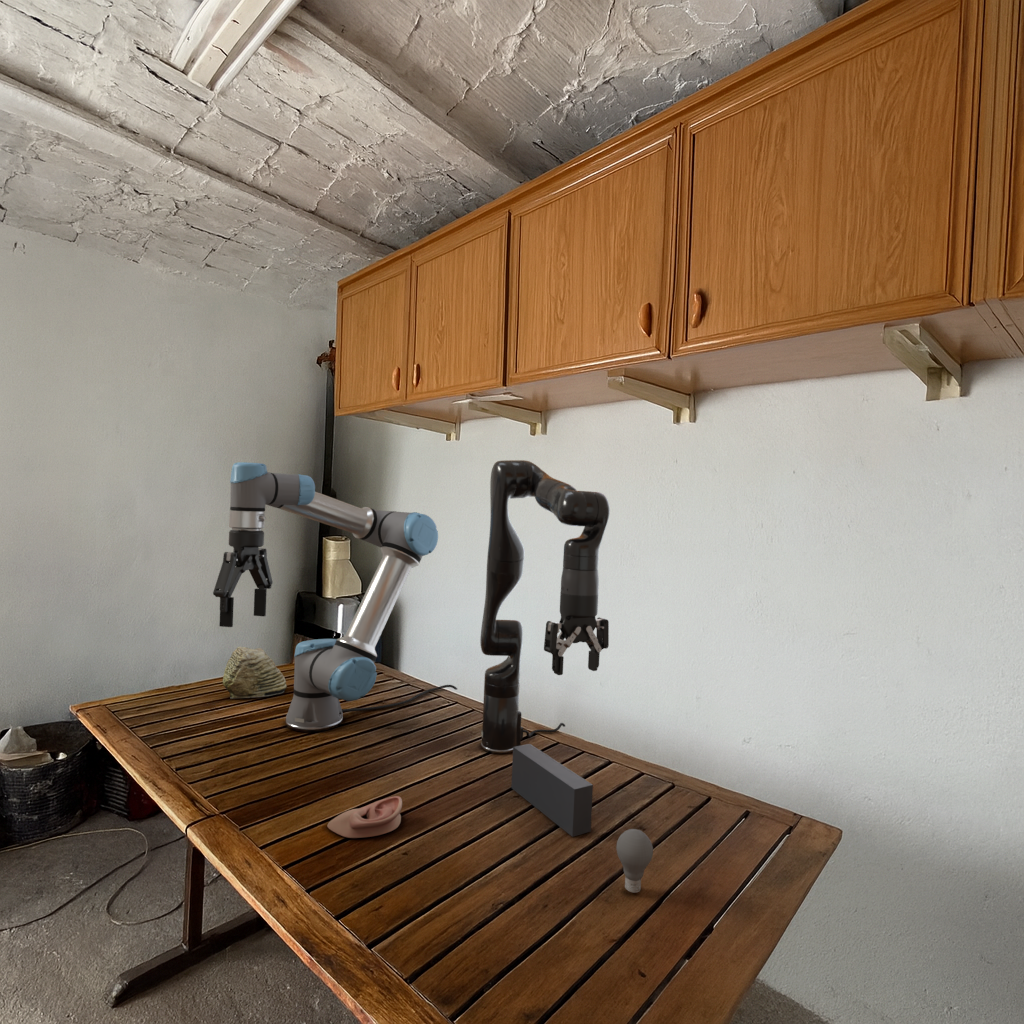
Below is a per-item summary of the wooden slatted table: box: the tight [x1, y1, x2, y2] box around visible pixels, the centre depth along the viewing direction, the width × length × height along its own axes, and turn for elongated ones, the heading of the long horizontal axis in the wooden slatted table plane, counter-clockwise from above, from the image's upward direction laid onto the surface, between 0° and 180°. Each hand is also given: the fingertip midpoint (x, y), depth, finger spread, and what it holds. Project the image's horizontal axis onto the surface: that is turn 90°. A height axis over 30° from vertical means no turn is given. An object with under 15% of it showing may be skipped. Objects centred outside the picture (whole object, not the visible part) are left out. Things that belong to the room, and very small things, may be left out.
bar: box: [510, 743, 594, 838], centre depth 133 cm, size 23×4×9 cm, turn 31°
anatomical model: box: [327, 795, 403, 839], centre depth 123 cm, size 13×4×12 cm
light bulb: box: [615, 828, 654, 894], centre depth 106 cm, size 6×6×10 cm
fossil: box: [222, 646, 288, 699], centre depth 198 cm, size 9×18×15 cm, turn 132°
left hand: (243, 621), depth 147 cm, fingers open, 13 cm apart
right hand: (575, 672), depth 126 cm, fingers open, 8 cm apart
